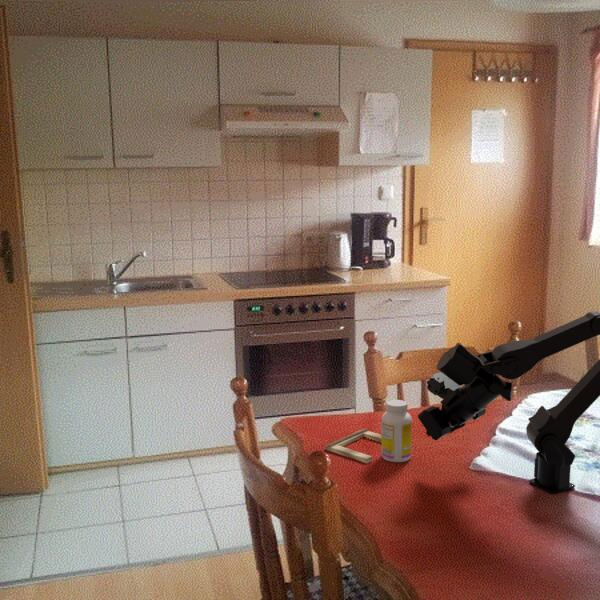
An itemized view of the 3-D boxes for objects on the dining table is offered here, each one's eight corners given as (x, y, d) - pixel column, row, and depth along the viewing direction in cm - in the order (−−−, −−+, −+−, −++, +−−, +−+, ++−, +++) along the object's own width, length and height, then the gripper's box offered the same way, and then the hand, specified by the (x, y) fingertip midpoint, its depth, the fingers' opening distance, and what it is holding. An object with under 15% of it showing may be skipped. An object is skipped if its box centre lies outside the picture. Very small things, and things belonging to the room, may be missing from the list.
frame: (403, 445, 168) (403, 440, 168) (366, 463, 158) (366, 457, 157) (362, 433, 176) (362, 428, 176) (325, 449, 166) (325, 444, 165)
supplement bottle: (410, 452, 164) (411, 398, 161) (412, 464, 157) (413, 408, 155) (381, 451, 164) (381, 397, 162) (381, 463, 158) (382, 407, 156)
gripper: (474, 354, 154) (429, 393, 163) (427, 372, 141) (381, 413, 150) (507, 397, 150) (458, 434, 160) (461, 420, 137) (411, 459, 146)
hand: (428, 434), depth 154 cm, fingers closed
